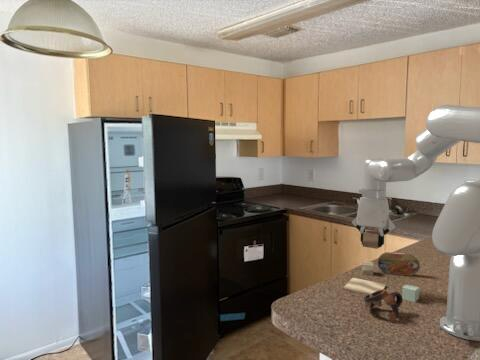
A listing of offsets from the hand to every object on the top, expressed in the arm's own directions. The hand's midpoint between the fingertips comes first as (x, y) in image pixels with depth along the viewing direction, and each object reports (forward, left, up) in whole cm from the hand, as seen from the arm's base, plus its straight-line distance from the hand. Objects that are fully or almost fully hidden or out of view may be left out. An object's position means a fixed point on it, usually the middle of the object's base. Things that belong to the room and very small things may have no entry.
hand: (372, 244), depth 130 cm
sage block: (-3, -14, -16) cm, 21 cm away
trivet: (-2, +1, -16) cm, 16 cm away
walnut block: (0, 0, -1) cm, 1 cm away
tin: (+20, -6, -16) cm, 26 cm away
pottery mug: (-19, -9, -16) cm, 26 cm away
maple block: (+14, +4, -16) cm, 22 cm away
